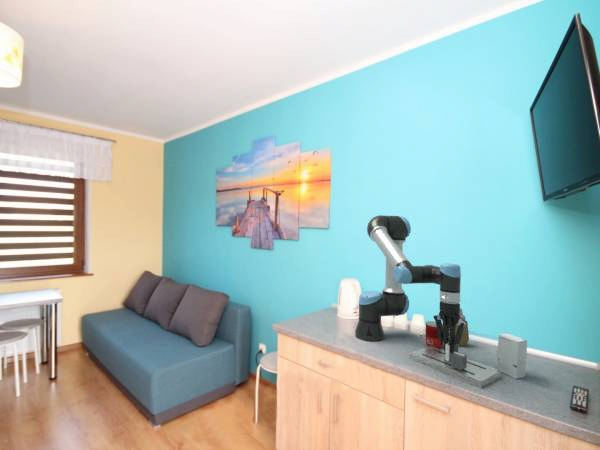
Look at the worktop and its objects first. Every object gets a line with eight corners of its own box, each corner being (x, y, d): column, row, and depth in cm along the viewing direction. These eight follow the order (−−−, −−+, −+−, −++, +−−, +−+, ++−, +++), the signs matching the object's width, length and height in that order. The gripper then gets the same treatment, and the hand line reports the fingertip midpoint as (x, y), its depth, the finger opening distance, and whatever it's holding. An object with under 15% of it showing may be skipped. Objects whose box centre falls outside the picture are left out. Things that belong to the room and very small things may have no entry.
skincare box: (496, 370, 126) (496, 334, 126) (505, 368, 128) (506, 332, 128) (517, 379, 118) (518, 341, 118) (527, 377, 120) (527, 339, 120)
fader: (451, 366, 121) (451, 352, 121) (456, 364, 124) (456, 350, 124) (461, 370, 118) (461, 356, 118) (466, 367, 120) (466, 354, 120)
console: (409, 358, 135) (409, 340, 135) (430, 351, 144) (430, 334, 144) (481, 388, 111) (481, 366, 111) (500, 377, 120) (501, 357, 120)
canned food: (444, 349, 147) (445, 326, 147) (427, 347, 148) (427, 325, 149) (440, 343, 154) (441, 321, 155) (424, 342, 156) (424, 320, 156)
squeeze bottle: (452, 346, 151) (453, 309, 152) (449, 340, 159) (450, 306, 159) (470, 348, 149) (471, 311, 149) (467, 342, 157) (467, 307, 157)
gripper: (429, 299, 128) (428, 356, 127) (460, 306, 117) (460, 368, 117) (439, 297, 132) (438, 352, 132) (470, 304, 121) (469, 363, 121)
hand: (448, 359), depth 124 cm, fingers closed
